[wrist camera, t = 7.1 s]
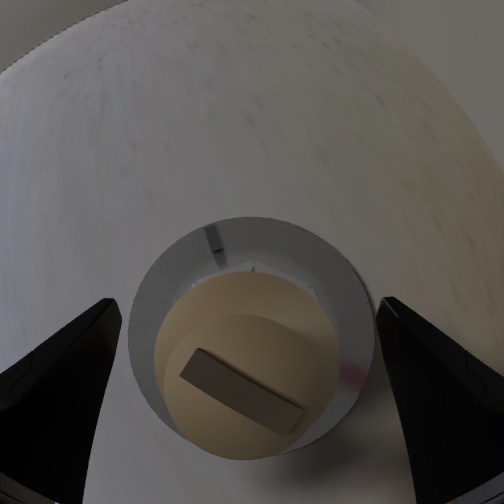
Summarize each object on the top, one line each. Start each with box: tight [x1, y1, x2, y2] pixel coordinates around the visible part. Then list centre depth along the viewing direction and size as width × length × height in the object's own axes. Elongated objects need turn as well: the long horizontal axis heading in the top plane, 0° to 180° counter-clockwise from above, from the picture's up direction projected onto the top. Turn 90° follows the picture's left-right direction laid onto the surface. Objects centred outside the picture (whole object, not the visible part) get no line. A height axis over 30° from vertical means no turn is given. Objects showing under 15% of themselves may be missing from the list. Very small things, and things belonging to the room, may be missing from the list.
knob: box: [154, 271, 340, 460], centre depth 10 cm, size 5×5×13 cm
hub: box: [128, 217, 374, 456], centre depth 16 cm, size 15×15×2 cm
